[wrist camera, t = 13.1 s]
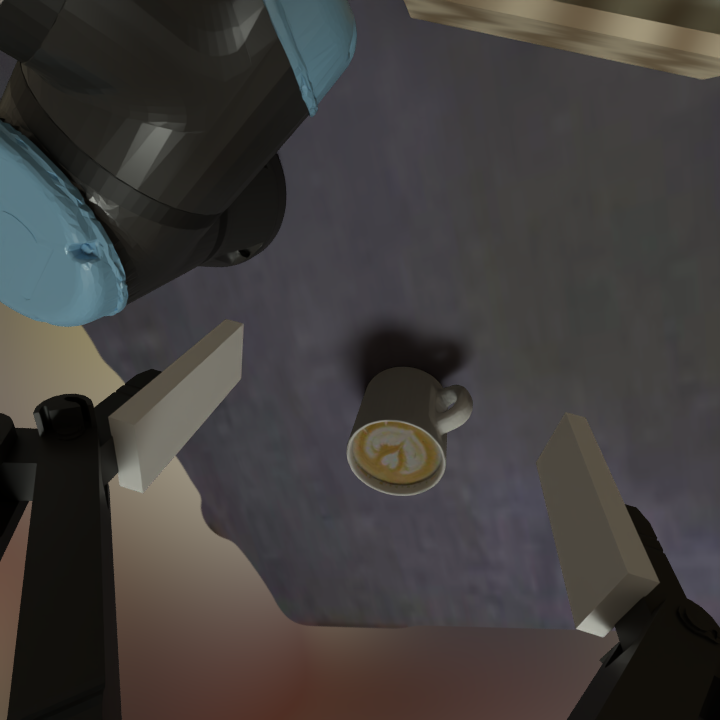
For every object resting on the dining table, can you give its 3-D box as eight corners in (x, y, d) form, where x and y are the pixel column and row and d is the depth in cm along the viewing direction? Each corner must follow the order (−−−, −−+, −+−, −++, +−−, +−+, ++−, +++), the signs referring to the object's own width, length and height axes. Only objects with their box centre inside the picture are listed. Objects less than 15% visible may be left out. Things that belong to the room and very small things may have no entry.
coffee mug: (385, 442, 53) (371, 503, 44) (351, 380, 49) (329, 433, 41) (488, 417, 48) (495, 480, 39) (459, 346, 44) (460, 398, 36)
